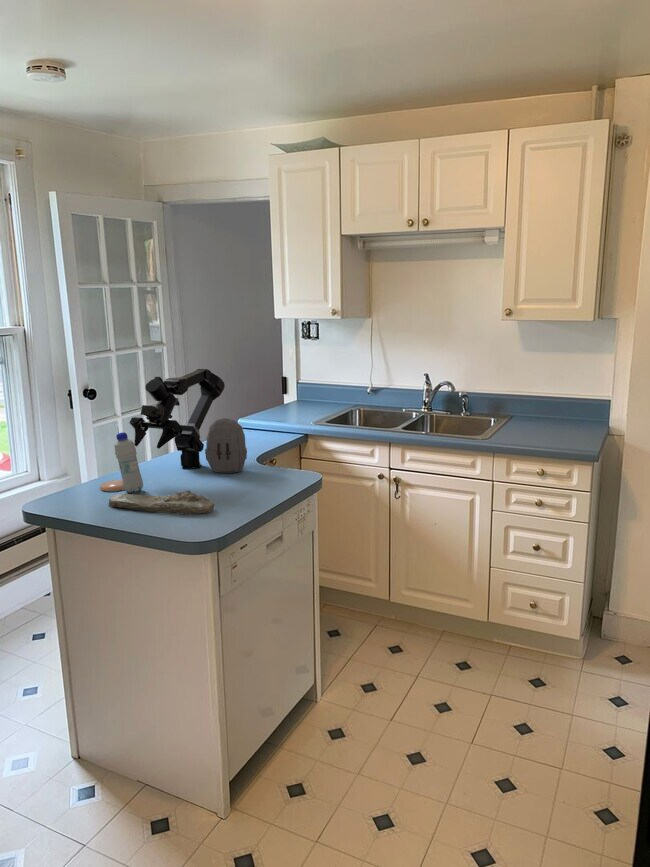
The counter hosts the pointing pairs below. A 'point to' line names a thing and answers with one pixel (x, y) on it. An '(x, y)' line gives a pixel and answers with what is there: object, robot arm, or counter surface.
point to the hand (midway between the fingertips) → (146, 446)
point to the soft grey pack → (226, 446)
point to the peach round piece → (112, 486)
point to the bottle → (128, 463)
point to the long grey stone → (164, 503)
